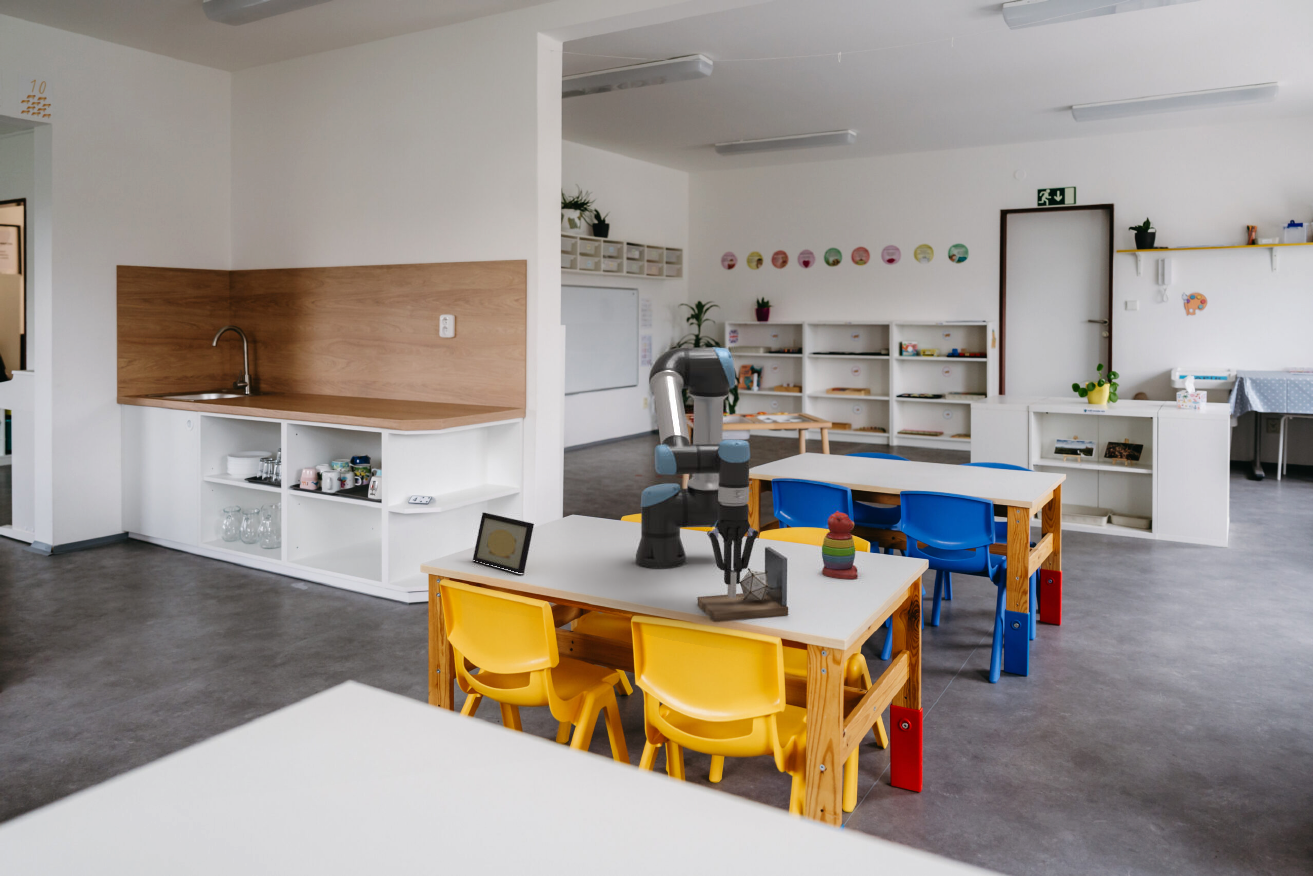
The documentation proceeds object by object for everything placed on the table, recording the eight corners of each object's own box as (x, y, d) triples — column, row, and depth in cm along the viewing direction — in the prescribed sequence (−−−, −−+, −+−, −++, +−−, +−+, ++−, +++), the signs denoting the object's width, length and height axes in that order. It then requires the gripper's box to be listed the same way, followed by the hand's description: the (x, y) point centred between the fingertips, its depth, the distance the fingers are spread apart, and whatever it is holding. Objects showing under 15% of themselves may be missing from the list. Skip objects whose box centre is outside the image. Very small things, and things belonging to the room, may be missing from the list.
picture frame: (472, 562, 273) (475, 512, 272) (496, 559, 279) (499, 511, 279) (520, 576, 257) (523, 523, 256) (544, 573, 264) (547, 522, 263)
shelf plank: (697, 604, 230) (697, 597, 229) (767, 598, 234) (767, 591, 234) (714, 621, 216) (714, 613, 216) (788, 615, 221) (788, 607, 221)
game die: (747, 613, 227) (732, 577, 231) (778, 601, 228) (763, 566, 232) (747, 605, 219) (732, 568, 223) (779, 593, 220) (763, 557, 223)
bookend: (764, 592, 233) (764, 547, 231) (768, 592, 233) (769, 546, 232) (782, 606, 221) (782, 558, 220) (786, 606, 222) (787, 558, 220)
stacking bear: (857, 580, 251) (859, 517, 249) (821, 578, 253) (822, 516, 251) (857, 569, 262) (858, 509, 260) (821, 568, 264) (822, 508, 262)
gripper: (712, 506, 216) (711, 602, 219) (763, 504, 219) (761, 599, 222) (703, 501, 223) (702, 594, 226) (752, 499, 226) (751, 591, 229)
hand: (731, 596), depth 224 cm, fingers closed
